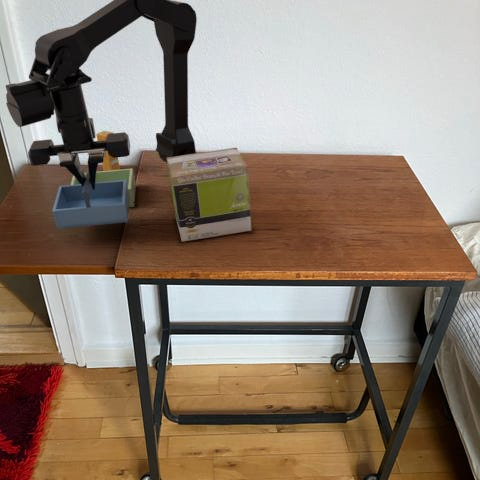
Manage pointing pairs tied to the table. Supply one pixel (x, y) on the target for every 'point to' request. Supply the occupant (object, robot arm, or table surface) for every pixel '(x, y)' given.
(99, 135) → the supplement box
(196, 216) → the tea box
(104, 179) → the sage basket
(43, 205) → the table surface
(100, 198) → the blue basket
